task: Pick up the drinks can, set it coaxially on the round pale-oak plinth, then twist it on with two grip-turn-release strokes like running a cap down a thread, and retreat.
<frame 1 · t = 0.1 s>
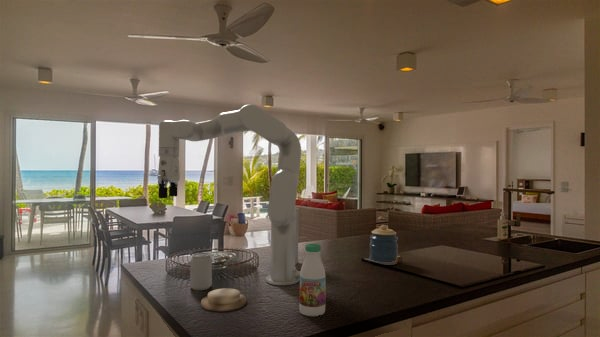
hand: (168, 197, 143), 31 cm above the worktop, tool pointing down, fingers open, 9 cm apart
plinth: (223, 302, 117), on the worktop
milk bottle: (312, 312, 110), on the worktop
canister: (383, 263, 170), on the worktop
can: (200, 288, 131), on the worktop
cylinder vase: (284, 263, 168), on the worktop
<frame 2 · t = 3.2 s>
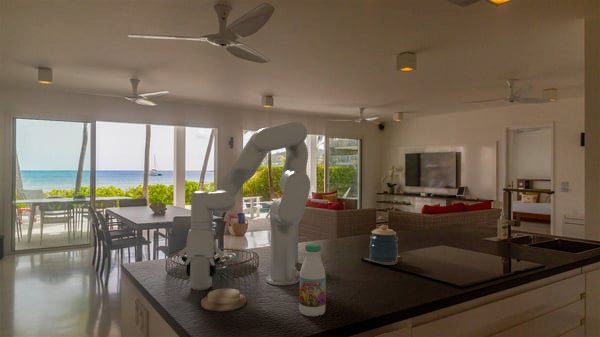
hand: (200, 275, 131), 4 cm above the worktop, tool pointing down, fingers closed on can, 7 cm apart
can: (200, 288, 131), on the worktop, touching gripper
everything else where it was.
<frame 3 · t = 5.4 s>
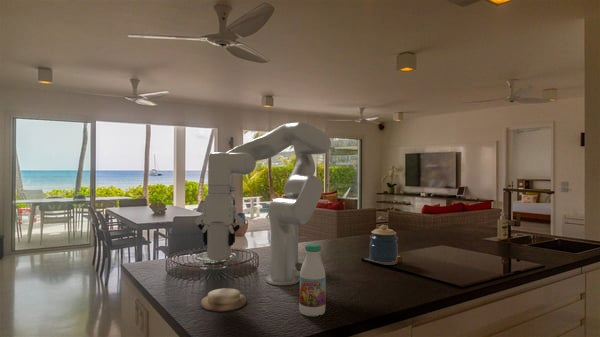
hand: (219, 244, 120), 18 cm above the worktop, tool pointing down, fingers closed on can, 7 cm apart
can: (218, 258, 120), point 13 cm above the worktop, touching gripper
everything else where it was.
when the fingers open (8 cm above the worktop, at t = 8.1 s): can stays where it is, resting on plinth.
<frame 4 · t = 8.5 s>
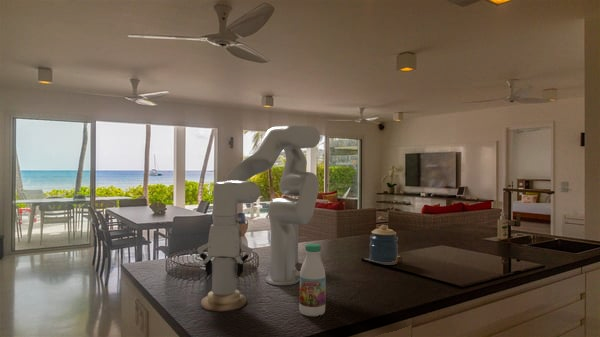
hand: (224, 275, 117), 9 cm above the worktop, tool pointing down, fingers open, 9 cm apart
can: (223, 293, 117), point 3 cm above the worktop, touching plinth
everything else where it was.
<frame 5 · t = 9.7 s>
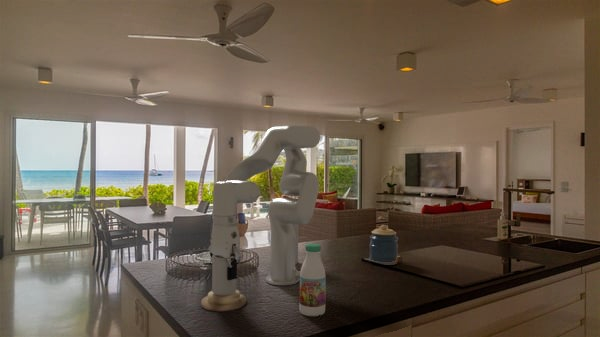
hand: (224, 276, 117), 8 cm above the worktop, tool pointing down, fingers closed on can, 7 cm apart
can: (224, 293, 117), point 3 cm above the worktop, touching gripper, plinth
everything else where it was.
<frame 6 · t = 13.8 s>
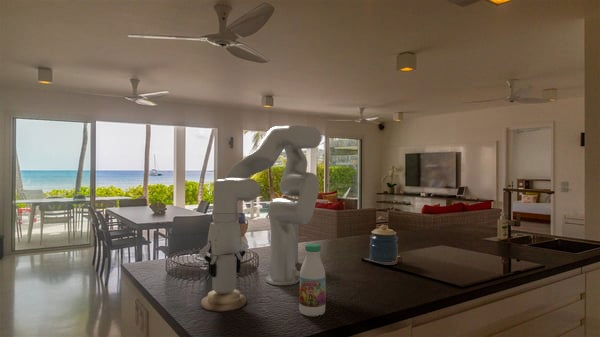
hand: (224, 273, 117), 9 cm above the worktop, tool pointing down, fingers closed on can, 7 cm apart
can: (224, 291, 117), point 4 cm above the worktop, touching gripper
everything else where it was.
when the fingers open (9 cm above the worktop, at t = 14.0 s): can stays where it is, resting on plinth.
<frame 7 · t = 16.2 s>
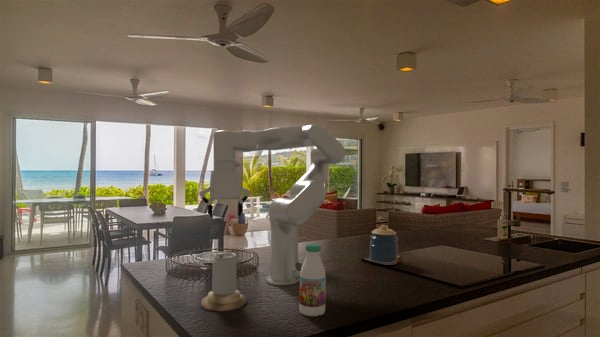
hand: (225, 215, 128), 26 cm above the worktop, tool pointing down, fingers open, 9 cm apart
can: (224, 293, 117), point 3 cm above the worktop, touching plinth
everything else where it was.
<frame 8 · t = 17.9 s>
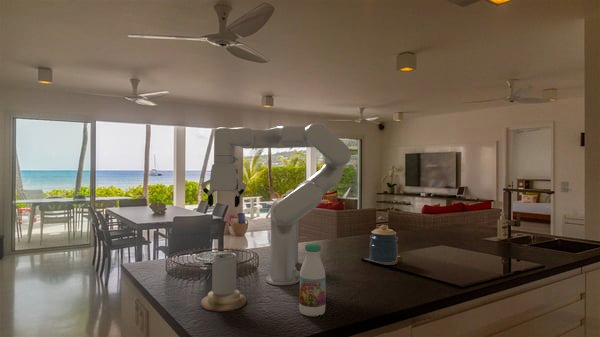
hand: (223, 206, 138), 28 cm above the worktop, tool pointing down, fingers open, 9 cm apart
nothing on the worktop moved.
at the end: can 0.3 cm off-centre on the plinth, point 2.8 cm above the plinth's base; can tilted 0°; the gripper is holding nothing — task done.
